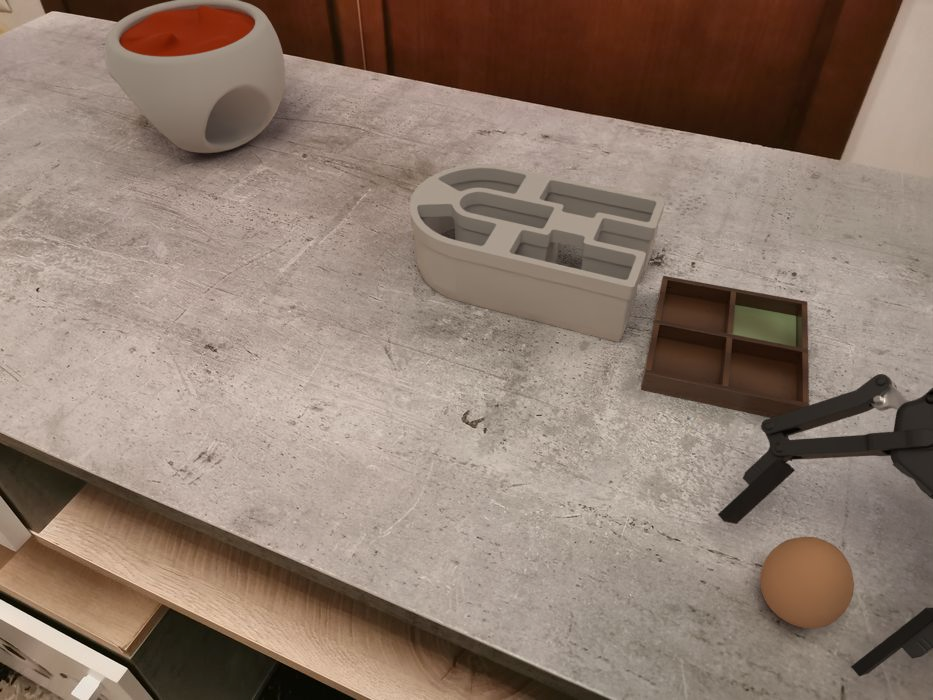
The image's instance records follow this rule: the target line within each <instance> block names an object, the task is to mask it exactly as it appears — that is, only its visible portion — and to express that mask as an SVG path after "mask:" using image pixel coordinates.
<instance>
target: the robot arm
mask: <svg viewBox="0 0 933 700" xmlns="http://www.w3.org/2000/svg"><path fill="white" fill-rule="evenodd" d="M874 409H875V410H877V411H881V412H884V411H886V410H890V409H894V410H896V413H895V419H894V426H893V431H884V432H883V431H882V432H870V433H866V434H858V435H857V434H856V435H843V436H842V435H840V436H828V437H827V436H826V437H825V436H824V437H811V438H798V439H790V438H789V436H792V435H793V436H794V435H796V434H800V433H803V432H806V431H809V430H812V429H815V428H819V427H822V426H825V425H828V424H831V423H835V422H838V421H841V420H845V419H847V418H851V417H854V416H857V415H860V414H864V413H866V412H869V411H872V410H874ZM760 427H761V428H760V429H761V430H762V432H764V434H765V436H766V438H767V441H768V443H769V447H768V450H767V451H766V452H765V453H764V454H763V455H762V456H761V457H760V458H759V459H758V460H757V461H755V462H754V463H753V464H752V465H751V466H750V467H749V468H747V470H746V471H745V472H744V474H743V476H742V479H743V480H744V482H746V483H747V485H748V486H746V487H745V488H744V489H743V490H742V491H741V492H740V493H738V495H737V496H735V498H734V499H732V500H731V501H730V502H729V503H728V504H727V505H726V506H725V507H724V508H723V509H722V510H721V511H719V513H717V515H718V517H719V518H720V519H721V520H722V521H723V522H724V523H728V524H735V525H737V524H738V523H739V522H741V521H742V520H743V519H744V518H745V517H746V516H747V515H748V514H750V512H752V511H753V509H755V508H756V507H757V506H758V505H759V504H760V503H761V502H763V500H765V499H766V498H767V497H768V496H769V495H770V494H771V493H772V492H773V491H774V490H776V489H777V487H779V486H780V485H781V484H782V483H783V482H785V480H786V479H788V478H789V476H791V475H792V474H793V473H794V472H795V471H796V469H794V467H792V465H790V464H789V463H788V462H793V461H797V460H799V461H800V460H817V459H836V458H857V457H890V460H891V462H892V466H894V468H896V469H897V470H898V471H899V472H900V473H901V474H903V475H904V476H906V477H908V478H910V479H911V480H913V481H914V483H915V484H916V485H917V487H918V488H919V490H920V491H921V492H923V494H924V495H926V496H927V497H928V498H929V499H931V500H933V387H932V388H930V389H928V391H927V392H926V393H924V394H923V395H922V396H920V397H918V398H916V399H913V400H909V399H908V398H907V397H906V396H905V395H904V394H903V393H902V392H901V391H900V390H899V389H898V387H897V384H896V383H895V382H894V381H893V380H892V379H891V378H890V376H888V375H886V374H884V373H878V374H875V375H874V376H873V377H871V378H870V379H868V381H866V382H865V383H864V384H862V385H861V386H860V387H858V388H857V389H855V390H852V391H849V392H846V393H843V394H840V395H837V396H834V397H831V398H827V399H825V400H824V399H823V400H822V401H819V402H815V403H813V404H809V406H806V407H803V408H800V409H797V410H794V411H791V412H787V413H784V414H781V415H778V416H775V417H772V418H771V417H768V418H767V419H765V420H763V421H762V423H761V426H760ZM901 649H902V650H903V651H904V652H905V653H906V654H907V655H908V656H909V658H911V659H917V658H921V657H924V656H926V654H928V653H929V652H931V651H933V606H931V607H925V608H924V609H922V610H921V611H920V612H918V613H917V614H916V615H915V616H913V617H911V619H909V620H908V621H907V622H905V623H904V624H903V625H901V627H899V628H898V629H897V630H896V631H894V632H893V633H892V634H890V635H889V636H888V637H887V638H885V639H884V640H883V641H881V642H880V643H879V644H878V645H876V646H875V647H874V648H873V649H872V650H869V652H868V653H866V654H865V655H864V656H863V657H861V658H860V659H858V660H857V661H856V662H855V663H853V664H852V665H851V666H850V668H851V669H852V671H854V673H856V675H857V676H858V677H862V676H865V675H869V674H870V673H871V672H872V671H874V670H875V669H876V668H878V667H879V666H880V665H882V664H883V663H884V662H885V661H887V660H888V659H890V658H891V657H892V656H893V655H895V654H896V653H897V652H898V651H900V650H901Z"/></svg>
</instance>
